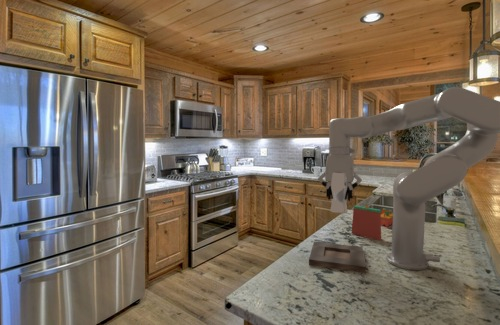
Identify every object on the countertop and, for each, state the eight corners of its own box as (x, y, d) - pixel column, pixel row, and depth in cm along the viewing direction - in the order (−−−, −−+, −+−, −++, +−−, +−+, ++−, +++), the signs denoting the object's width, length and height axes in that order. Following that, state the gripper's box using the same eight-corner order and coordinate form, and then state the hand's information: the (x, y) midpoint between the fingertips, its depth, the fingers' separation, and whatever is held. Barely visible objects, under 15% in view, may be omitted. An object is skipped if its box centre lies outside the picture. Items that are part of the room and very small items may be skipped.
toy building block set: (351, 233, 127) (352, 203, 126) (380, 219, 151) (381, 193, 150) (379, 240, 118) (380, 208, 117) (405, 224, 142) (406, 197, 142)
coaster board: (362, 252, 105) (362, 246, 105) (366, 273, 88) (366, 266, 88) (313, 246, 111) (314, 241, 110) (308, 264, 94) (308, 259, 93)
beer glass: (344, 214, 99) (345, 173, 98) (326, 211, 103) (326, 172, 103) (351, 211, 104) (352, 171, 103) (333, 208, 109) (334, 170, 108)
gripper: (364, 151, 103) (363, 199, 104) (317, 151, 109) (317, 196, 110) (365, 152, 96) (364, 203, 97) (314, 152, 102) (314, 200, 103)
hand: (339, 199), depth 104 cm, fingers closed on beer glass, 6 cm apart
